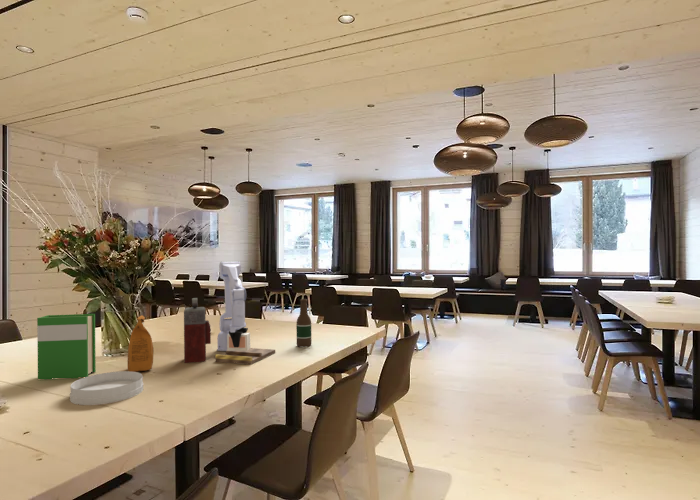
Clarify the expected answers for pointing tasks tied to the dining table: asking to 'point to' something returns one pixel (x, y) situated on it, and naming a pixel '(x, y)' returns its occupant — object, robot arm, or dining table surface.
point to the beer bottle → (303, 326)
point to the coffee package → (140, 348)
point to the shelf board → (244, 356)
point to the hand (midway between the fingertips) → (238, 345)
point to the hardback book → (66, 346)
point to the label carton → (243, 344)
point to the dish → (106, 388)
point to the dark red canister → (195, 333)
